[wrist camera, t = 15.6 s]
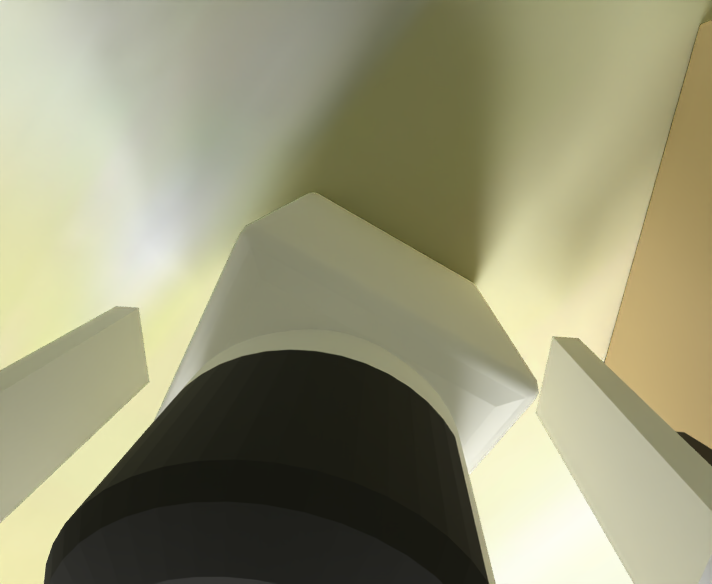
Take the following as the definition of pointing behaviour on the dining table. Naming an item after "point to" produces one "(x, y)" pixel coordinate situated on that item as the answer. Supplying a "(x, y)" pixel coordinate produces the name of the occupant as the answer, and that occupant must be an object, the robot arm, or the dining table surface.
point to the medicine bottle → (313, 423)
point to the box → (675, 270)
